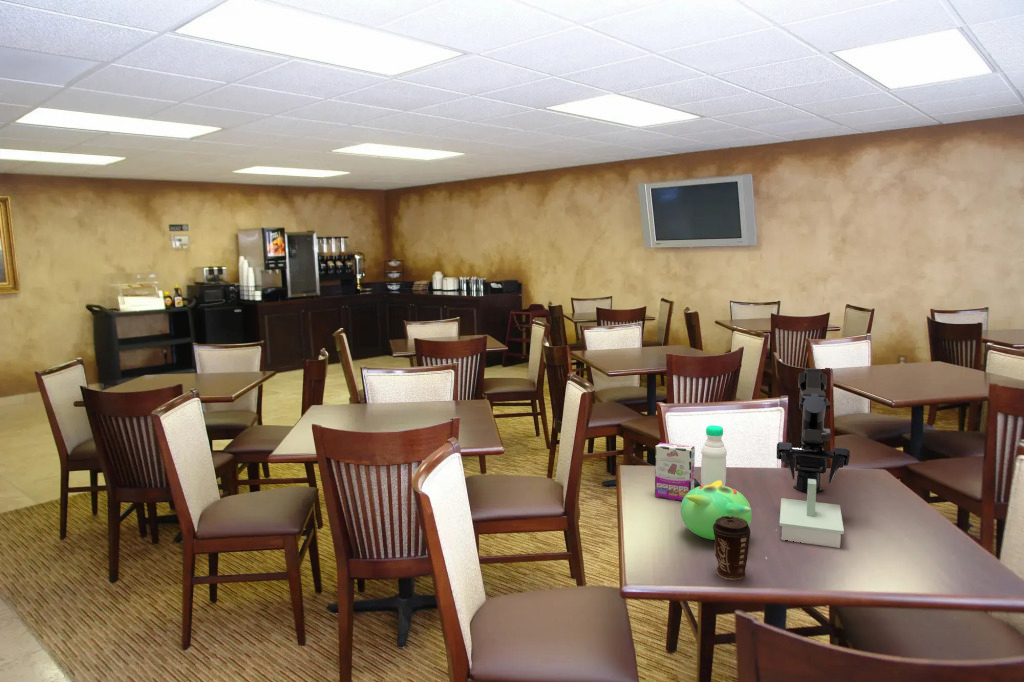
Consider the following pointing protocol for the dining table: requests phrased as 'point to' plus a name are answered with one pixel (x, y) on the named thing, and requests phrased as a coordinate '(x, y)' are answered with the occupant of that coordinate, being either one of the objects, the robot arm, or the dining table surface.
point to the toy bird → (712, 507)
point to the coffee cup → (731, 546)
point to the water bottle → (713, 457)
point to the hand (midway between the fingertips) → (811, 480)
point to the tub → (811, 537)
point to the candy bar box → (674, 470)
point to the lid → (811, 513)
